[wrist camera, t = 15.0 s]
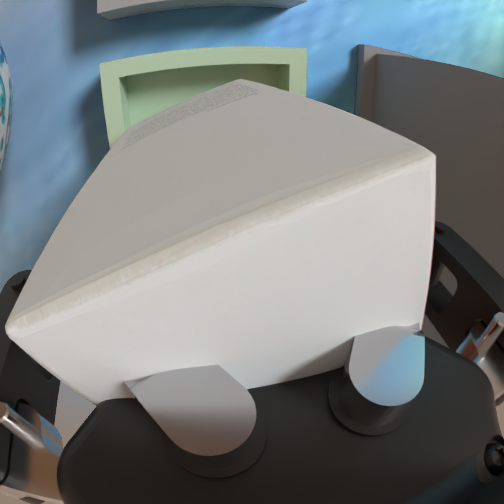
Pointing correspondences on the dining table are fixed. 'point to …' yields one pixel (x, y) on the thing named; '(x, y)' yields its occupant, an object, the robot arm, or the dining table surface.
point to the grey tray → (177, 5)
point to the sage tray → (191, 78)
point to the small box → (232, 245)
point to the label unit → (445, 141)
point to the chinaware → (4, 105)
